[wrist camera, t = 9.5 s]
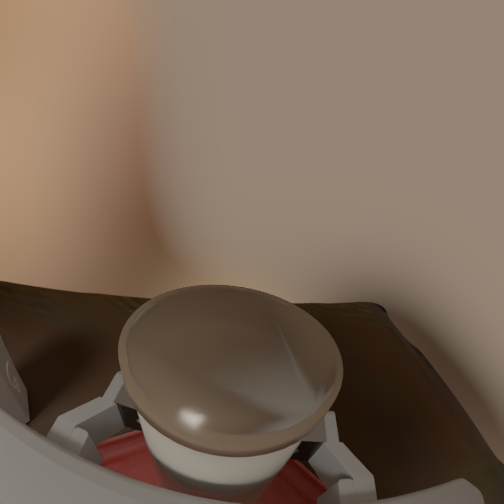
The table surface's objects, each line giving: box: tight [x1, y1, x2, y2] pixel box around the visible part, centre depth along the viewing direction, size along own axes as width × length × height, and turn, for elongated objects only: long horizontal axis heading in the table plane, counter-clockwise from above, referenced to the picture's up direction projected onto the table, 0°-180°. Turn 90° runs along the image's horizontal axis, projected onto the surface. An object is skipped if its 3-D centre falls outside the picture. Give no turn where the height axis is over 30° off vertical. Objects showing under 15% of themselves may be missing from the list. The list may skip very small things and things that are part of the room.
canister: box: [118, 285, 343, 504], centre depth 10 cm, size 6×6×10 cm
